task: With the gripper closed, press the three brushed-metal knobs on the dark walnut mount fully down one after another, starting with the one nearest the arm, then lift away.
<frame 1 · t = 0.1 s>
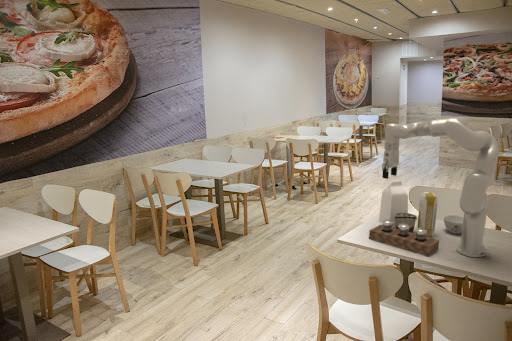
hand: (389, 176, 224), 31 cm above the table, tool pointing down, fingers open, 9 cm apart
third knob: (387, 226, 216), point 7 cm above the table, slide at 0.0 cm
knob mount: (402, 243, 211), on the table
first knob: (420, 235, 203), point 7 cm above the table, slide at 0.0 cm
juice carton: (425, 234, 224), on the table
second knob: (403, 231, 210), point 7 cm above the table, slide at 0.0 cm
food container: (403, 231, 229), on the table
milk: (392, 223, 242), on the table
teacup: (457, 233, 226), on the table
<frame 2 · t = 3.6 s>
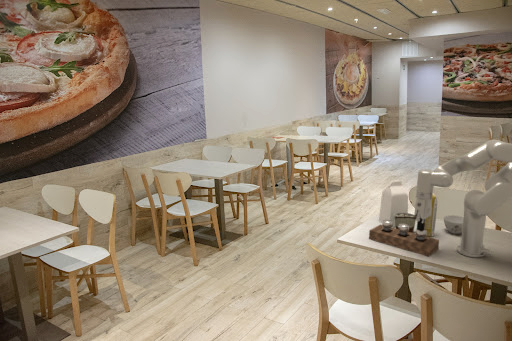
hand: (420, 229, 203), 10 cm above the table, tool pointing down, fingers closed
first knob: (420, 236, 204), point 7 cm above the table, slide at 0.2 cm, touching gripper
everything else where it was.
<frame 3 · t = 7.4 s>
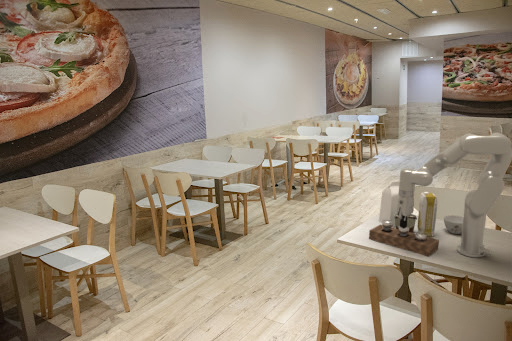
hand: (403, 226, 209), 9 cm above the table, tool pointing down, fingers closed
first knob: (420, 240, 204), point 5 cm above the table, slide at 2.5 cm
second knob: (403, 233, 210), point 6 cm above the table, slide at 1.0 cm, touching gripper
everything else where it was.
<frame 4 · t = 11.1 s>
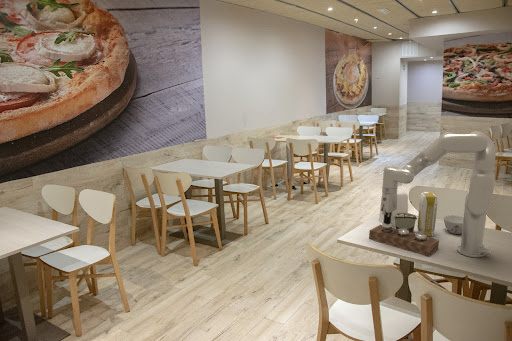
hand: (386, 223, 215), 9 cm above the table, tool pointing down, fingers closed
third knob: (387, 229, 216), point 6 cm above the table, slide at 1.3 cm, touching gripper
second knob: (403, 235, 210), point 5 cm above the table, slide at 2.5 cm
everything else where it was.
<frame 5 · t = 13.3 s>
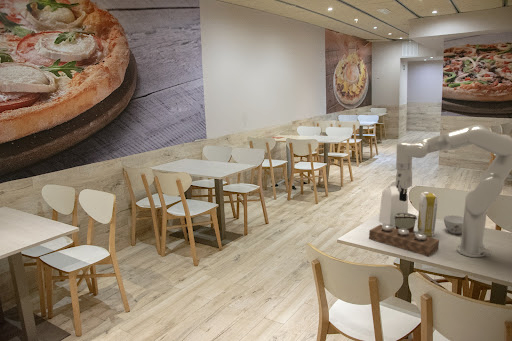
hand: (402, 200, 211), 22 cm above the table, tool pointing down, fingers closed
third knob: (386, 231, 216), point 5 cm above the table, slide at 2.5 cm
everything else where it was.
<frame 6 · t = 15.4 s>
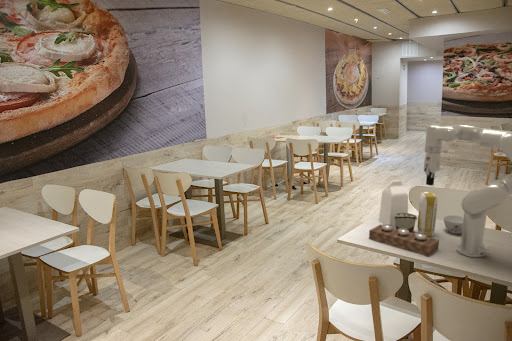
hand: (429, 184, 207), 31 cm above the table, tool pointing down, fingers closed
nothing on the table moved.
at the end: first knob slide at 2.5 cm; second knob slide at 2.5 cm; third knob slide at 2.5 cm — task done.
